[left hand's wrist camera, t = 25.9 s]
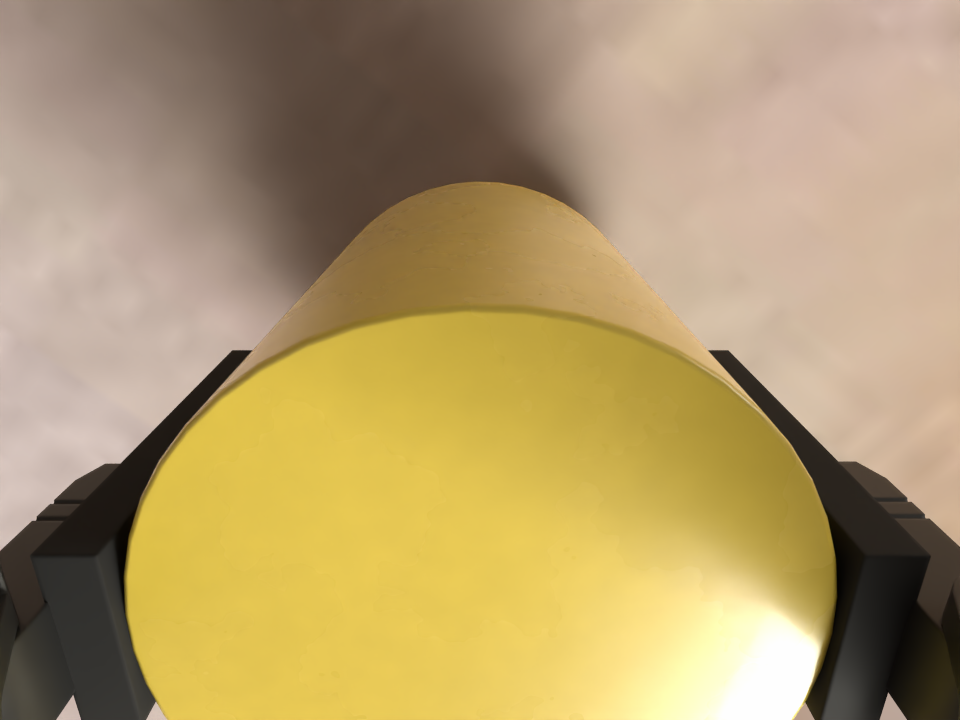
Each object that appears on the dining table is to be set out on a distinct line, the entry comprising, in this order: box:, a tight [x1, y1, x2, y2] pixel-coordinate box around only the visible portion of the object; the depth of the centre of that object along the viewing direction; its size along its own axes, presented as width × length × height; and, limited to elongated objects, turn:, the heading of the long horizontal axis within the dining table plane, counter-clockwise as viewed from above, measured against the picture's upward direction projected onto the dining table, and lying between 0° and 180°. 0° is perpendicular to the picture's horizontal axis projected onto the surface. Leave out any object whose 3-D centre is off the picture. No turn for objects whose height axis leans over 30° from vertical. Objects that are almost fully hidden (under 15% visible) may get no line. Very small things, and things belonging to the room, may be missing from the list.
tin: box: [124, 182, 837, 720], centre depth 13 cm, size 9×9×10 cm
